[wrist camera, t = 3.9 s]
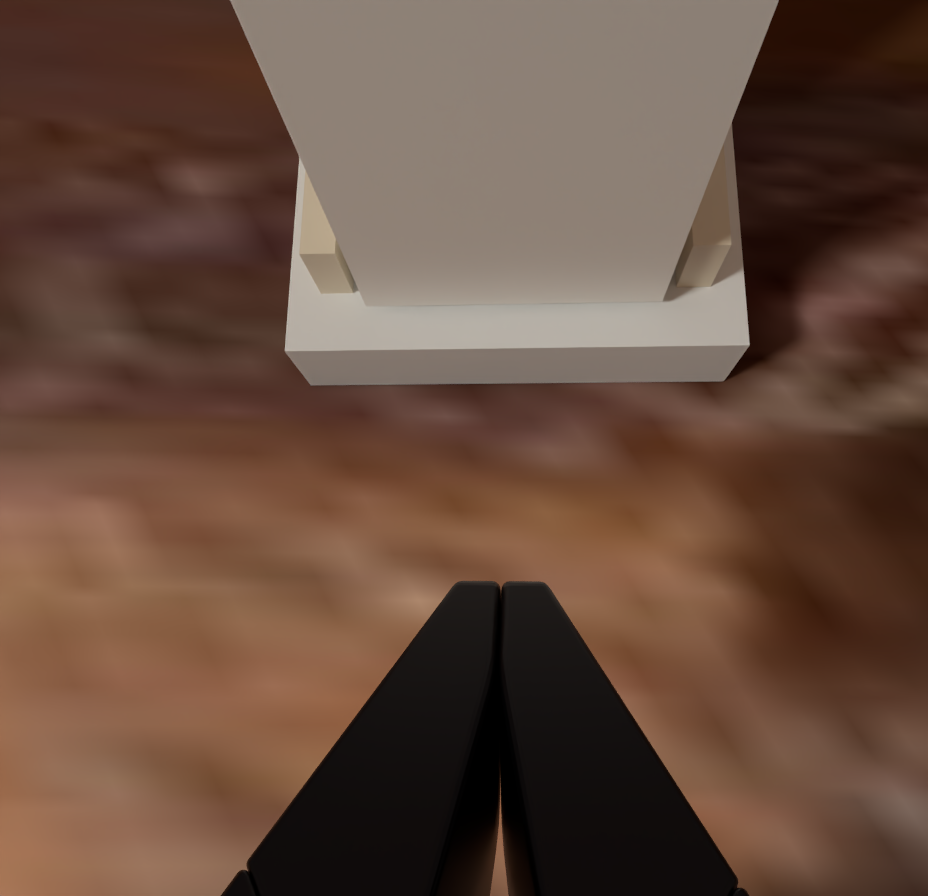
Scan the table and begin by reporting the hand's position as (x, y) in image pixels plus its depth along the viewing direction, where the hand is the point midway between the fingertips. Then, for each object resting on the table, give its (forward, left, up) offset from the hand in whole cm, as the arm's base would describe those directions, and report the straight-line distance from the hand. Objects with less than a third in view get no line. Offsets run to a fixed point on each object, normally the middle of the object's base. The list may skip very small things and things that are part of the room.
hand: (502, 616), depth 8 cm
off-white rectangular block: (+5, -7, -10) cm, 13 cm away
